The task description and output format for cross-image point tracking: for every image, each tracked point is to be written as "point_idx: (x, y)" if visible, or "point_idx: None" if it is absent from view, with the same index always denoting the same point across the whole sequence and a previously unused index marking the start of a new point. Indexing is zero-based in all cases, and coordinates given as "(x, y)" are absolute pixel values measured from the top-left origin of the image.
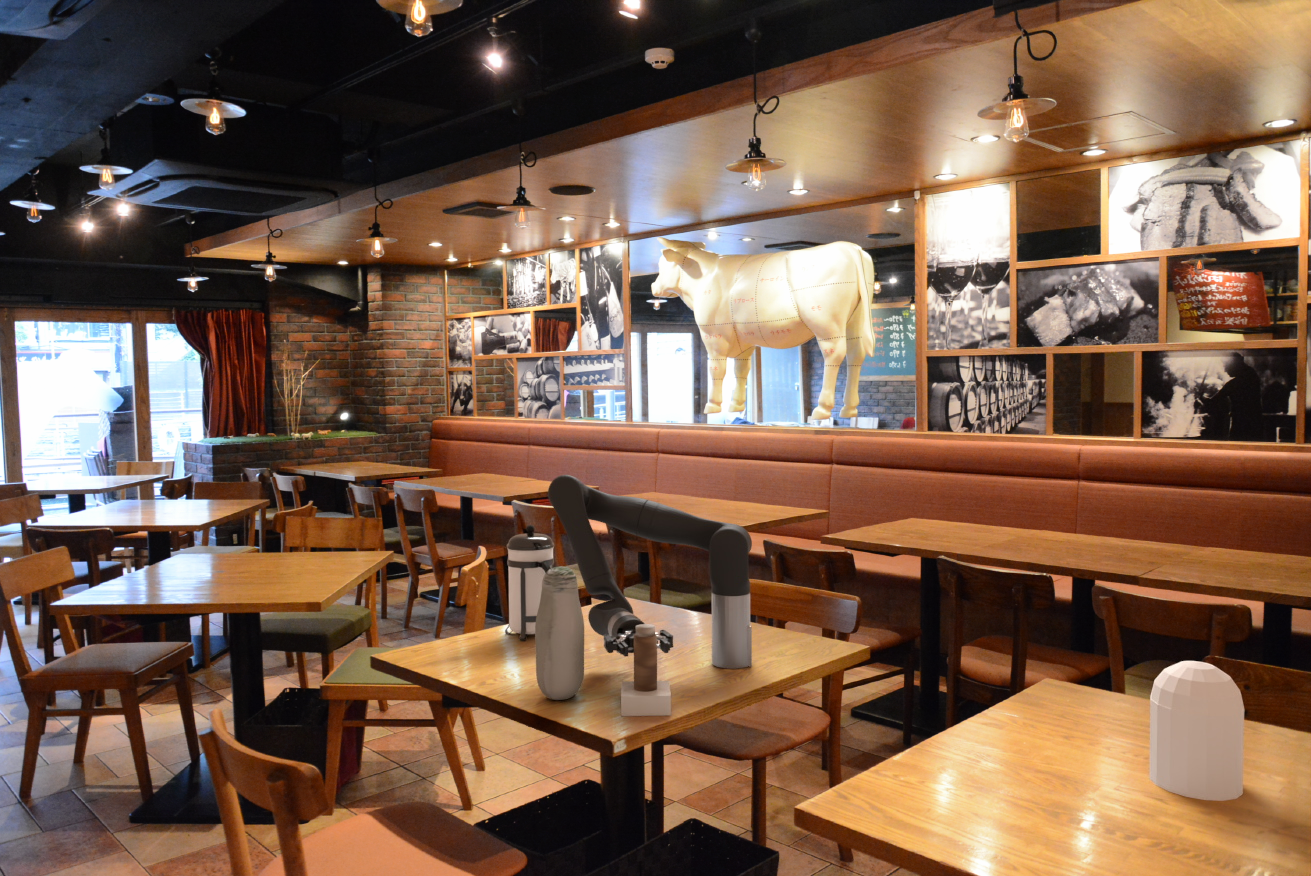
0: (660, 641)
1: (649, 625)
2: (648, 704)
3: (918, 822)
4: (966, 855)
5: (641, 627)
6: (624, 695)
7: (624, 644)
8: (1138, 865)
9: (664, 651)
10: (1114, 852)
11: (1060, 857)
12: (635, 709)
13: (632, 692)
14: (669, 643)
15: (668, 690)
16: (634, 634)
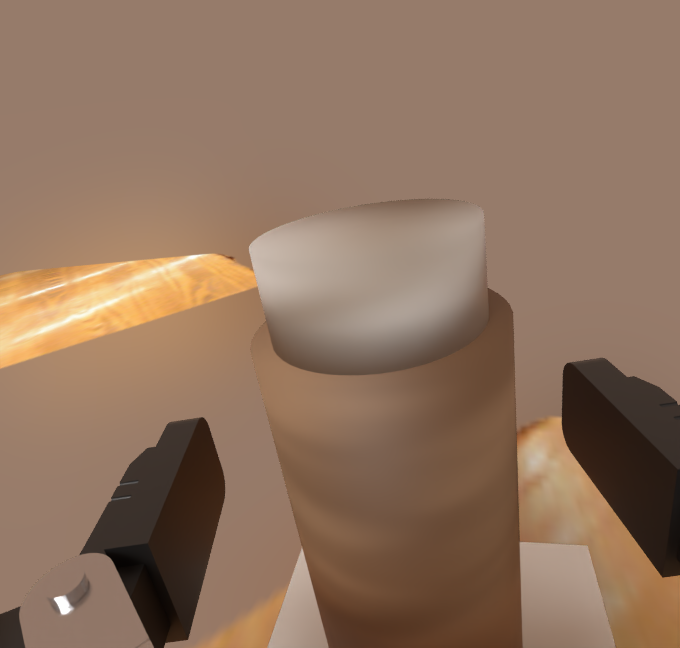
0: (163, 556)
1: (303, 244)
2: None
3: (182, 278)
4: (194, 259)
5: (414, 210)
6: (569, 559)
7: (621, 389)
8: (99, 264)
9: (219, 496)
10: (92, 269)
11: (134, 264)
12: None
13: (524, 606)
14: (141, 460)
15: (291, 610)
16: (505, 327)
